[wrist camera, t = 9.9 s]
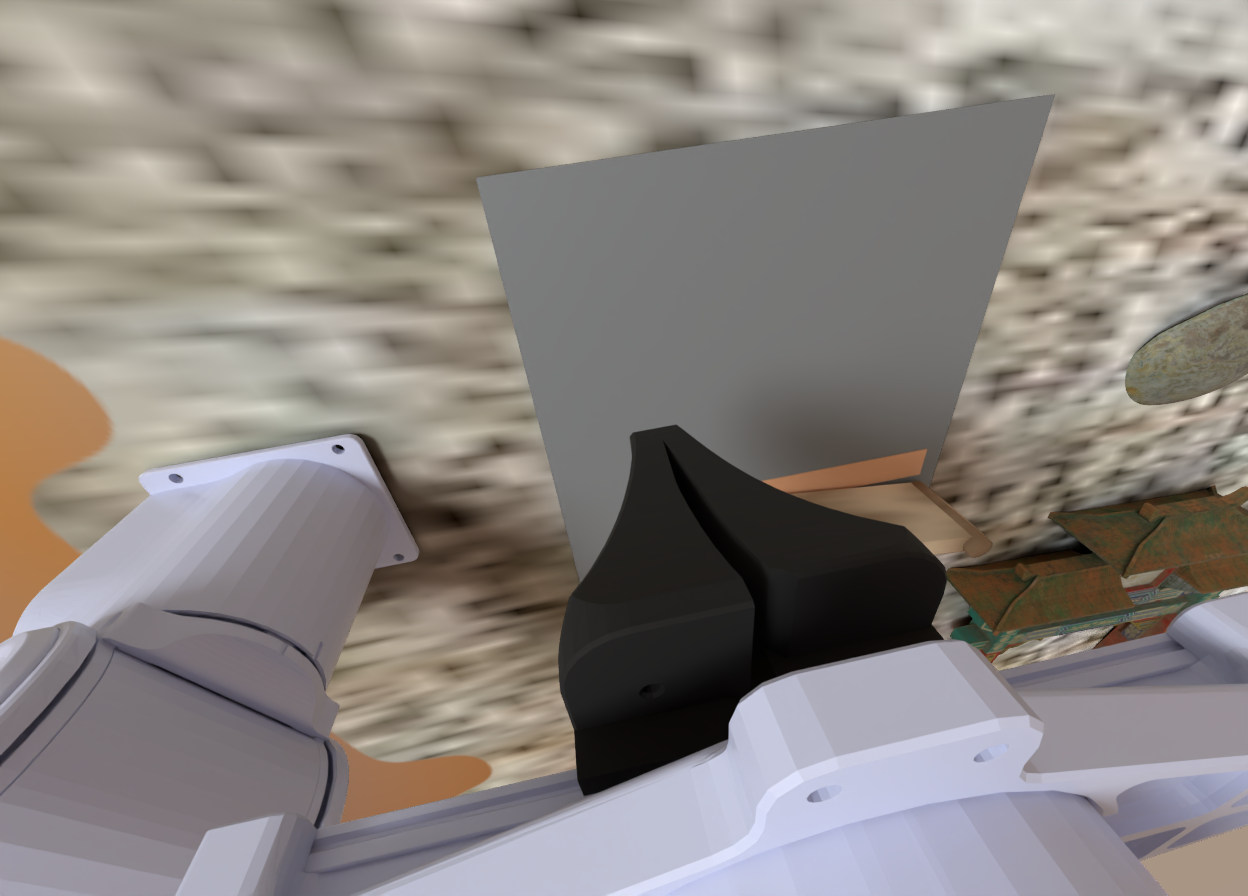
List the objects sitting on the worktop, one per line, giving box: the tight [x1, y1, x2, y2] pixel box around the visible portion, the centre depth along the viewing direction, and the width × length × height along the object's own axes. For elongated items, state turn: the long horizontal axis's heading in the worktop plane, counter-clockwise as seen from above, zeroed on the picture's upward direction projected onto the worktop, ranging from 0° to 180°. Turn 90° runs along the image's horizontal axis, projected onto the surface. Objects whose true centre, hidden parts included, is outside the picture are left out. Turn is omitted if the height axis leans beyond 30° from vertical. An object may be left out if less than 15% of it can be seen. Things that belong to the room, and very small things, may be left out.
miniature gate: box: [946, 486, 1248, 663], centre depth 38 cm, size 27×6×30 cm
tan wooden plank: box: [791, 481, 992, 558], centre depth 24 cm, size 12×1×5 cm, turn 89°
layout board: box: [476, 94, 1055, 583], centre depth 23 cm, size 22×32×6 cm
